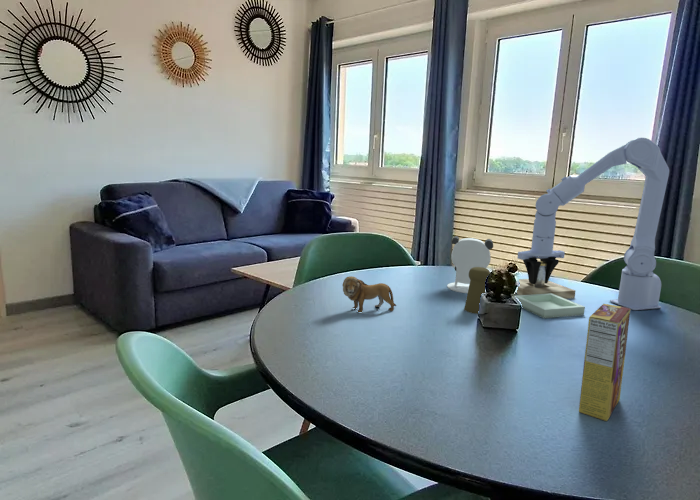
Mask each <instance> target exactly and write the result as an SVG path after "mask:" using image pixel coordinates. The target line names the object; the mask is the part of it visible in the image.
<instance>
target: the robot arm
mask: <svg viewBox="0 0 700 500" xmlns="http://www.w3.org/2000/svg"><path fill="white" fill-rule="evenodd" d="M627 163H629V164H630V165H633V166H635V167H636V168H638V170H639V171H640V172H641V173H642V174H643V175H644V177H645V181H644V185H643V190H642V194H641V199H640V204H639V209H638V214H637V217H636V223H635V228H634V232H633V236H632V239H631V241H630V246H629V247H628V248H627V250H626V251H625V252H624V254H623V260H624V263H625V264H626V266H625V267H624V268H622V270H621V277H620V283H619V288H618V296H617V299H610V300H609V302H610V303H611V304H612V303H613V304H616V305H617V306H618V305H619V306H620V307H625V308H630V309H631V310H633V311H640V310H642V311H643V310H656V309H661V308H662V306H661V305H659V303H660V302H659V301H660V296H661V289H662V281H661V278H660V277H659V276H658V275H657V274H656V273H654V270H656V269H655V268H656V267H657V260H656V257H655V250H656V242H655V241H656V235H657V231H658V227H659V221H660V216H661V213H662V208H663V203H664V199H665V193H666V190H667V185H668V180H669V176H670V167H669V166H668V164H667V161H666V160H665V158H664V156H663V154H662V152H661V149H660V146H658V144H656V143H655V142H654V141H652V140H651V139H649V138H646V137H638V138H634V139H632V140H630V141H628V142H626V144H623V145H621V146H619V147H617V148H615V149H614V150H612V151H610V152H608V153H607V154H605V155H604V156H603V157H601V158H600V159H599V160H598V161H596V162H594V163H593V164H592V165H590V166H589V167H588V168H587V169H585V170H584V171H582V173H580V174H579V175H569V176H563V177H562V178H561V179H560V180H561V181H560V182H559V183H557V184H556V185H555V186H554V187H552V188H548V189H546V192H547V193H544V194H541V195H540V196H539V197H538V198H537V200H536V201H535V210H536V211H535V214H534V215H535V216H534V217H535V218H534V221H533V230H532V238H531V239H532V241H531V248H530V250H524V251H523V250H522V251H518V252H517V259H518V260H522V261H523V264H524V265H525V268H526V273H527V277H528V278H527V279H529V283H532V284H536V281H537V274H538V270H539V267H540V265H541V262H539V261H542V262H546V263H547V268H546V276H545V283H548V281H550V277H551V275H552V273H553V271H554V269H555V268H556V267H557V265H559V262H560V260H559V259H564V258H565V253H566V252H565V251H563V250H554V243H555V235H556V227H557V226H556V224H557V221H556V215H557V211H558V210H559V207H560V206H562V207H563V206H566V205H567V204H568V203H569V202H571V201H573V200H574V199H575V198H577V197H579V196H580V195H581V194H582V193H584V192H585V187H586V185H587V184H588V183H590V182H592V181H593V180H594V179H596V178H598V177H599V176H601V175H602V174H604V173H605V172H607V171H609V170H610V169H611V168H612V167H616V166H621V165H626V164H627Z"/></svg>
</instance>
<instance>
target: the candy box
mask: <svg viewBox="0 0 700 500" xmlns="http://www.w3.org/2000/svg"><path fill="white" fill-rule="evenodd" d="M631 310H632V309H630V308H626V307H623V306H621V305H619V306H618V305H614V304H605V303H603V304H601V306H599V307H598V308H597V310H595V311H594V312H593V313H592V314H591V315H590V316H589V317H588V325H587V334H586V335H587V336H586V344H585V351H584V361H583V369H582V376H581V377H582V378H581V386H580V388H581V389H580V396H579V405H578V412H579V413H580V414H584V415H585V416H589V417H592V418H594V419H595V418H596V419H598V420H601V421H604V422H608V420H609V419H610V417H611V416H612V414H613V412H614V411H615V408H616V406H617V405H618V404H619V401H620V400H621V391H622V390H621V389H622V384H623V383H622V382H623V375H624V368H625V360H626V350H627V342H628V333H629V324H630V317H631Z"/></svg>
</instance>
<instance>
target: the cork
mask: <svg viewBox="0 0 700 500" xmlns="http://www.w3.org/2000/svg"><path fill="white" fill-rule="evenodd" d="M489 274H490V275H491V271H490V270H489V268H487V267H486V268H483V267H473V268H471V269H470V271H469V278H470V285H469V289H468V293H466V299H465V303H464V307H463V310H464V311H465V312H467V313H470V314H474V315H479V314H478V311H479V303H480V296H481V294H482V293H485V281H486V278H487V276H488V275H489Z"/></svg>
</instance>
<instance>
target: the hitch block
mask: <svg viewBox="0 0 700 500" xmlns="http://www.w3.org/2000/svg"><path fill="white" fill-rule="evenodd" d="M518 279H519V278H518ZM519 282H520V286H519V287H518V290H517V294H516V295H532V294H548V293H552V294H554V295H557V296H559V297H562V298H564V299H567V300H569V299H575V297H576V290H575V289H572V288H569V287H566V286H564V285H561V284H558V283H555V282H553V281H550V280H548V283H545V285H544V288H535V287H533V286H531V284H532V283H529V278H522V279H521V278H520V279H519Z"/></svg>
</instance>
